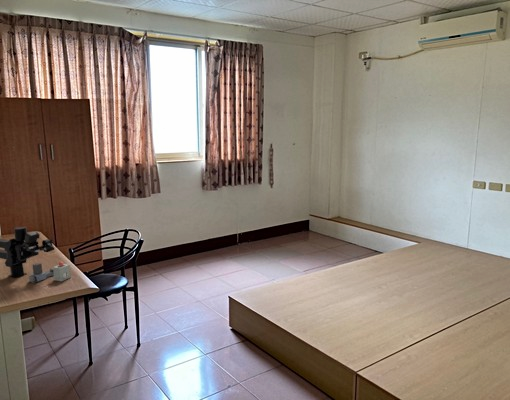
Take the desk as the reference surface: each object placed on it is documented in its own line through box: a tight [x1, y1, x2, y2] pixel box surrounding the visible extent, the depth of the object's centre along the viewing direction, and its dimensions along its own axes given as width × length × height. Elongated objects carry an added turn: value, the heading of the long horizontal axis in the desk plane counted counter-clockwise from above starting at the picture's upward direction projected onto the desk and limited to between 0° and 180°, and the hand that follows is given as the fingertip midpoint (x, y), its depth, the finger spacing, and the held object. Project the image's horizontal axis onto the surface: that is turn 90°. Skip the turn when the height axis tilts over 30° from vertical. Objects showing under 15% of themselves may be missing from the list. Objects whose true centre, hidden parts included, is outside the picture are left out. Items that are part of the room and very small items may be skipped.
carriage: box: [29, 262, 47, 283], centre depth 223 cm, size 5×5×8 cm
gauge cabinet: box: [52, 263, 72, 282], centre depth 224 cm, size 6×6×7 cm
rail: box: [28, 268, 54, 284], centre depth 226 cm, size 3×13×3 cm, turn 153°
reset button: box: [58, 261, 64, 267], centre depth 223 cm, size 2×2×4 cm
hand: (46, 251), depth 217 cm, fingers open, 9 cm apart
